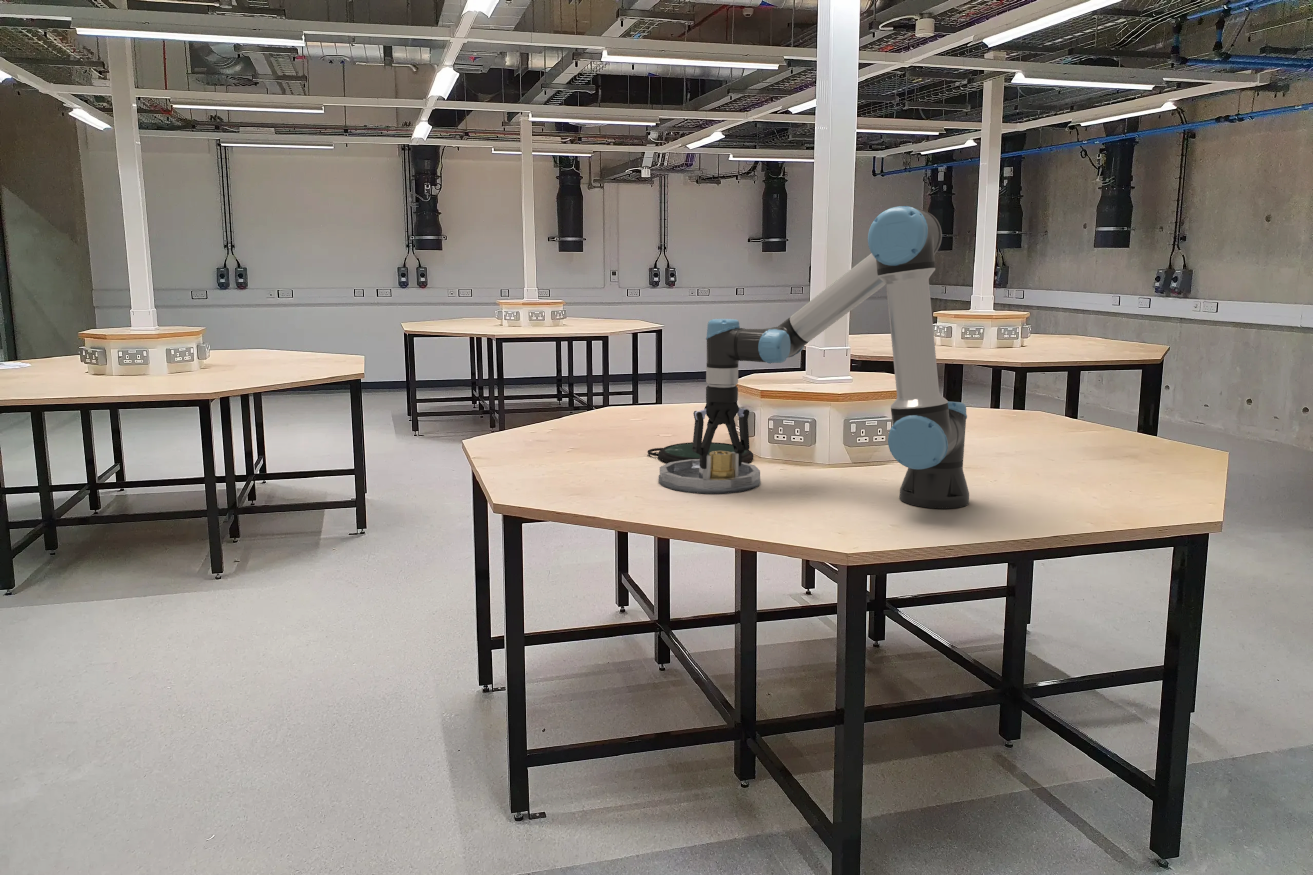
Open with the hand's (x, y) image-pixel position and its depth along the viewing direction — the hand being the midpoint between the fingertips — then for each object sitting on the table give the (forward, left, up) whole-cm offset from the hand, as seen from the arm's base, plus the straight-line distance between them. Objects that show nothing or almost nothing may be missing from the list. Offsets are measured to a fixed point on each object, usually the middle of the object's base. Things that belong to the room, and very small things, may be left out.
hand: (720, 480), depth 221 cm
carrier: (+5, -5, -2) cm, 7 cm away
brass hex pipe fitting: (0, 0, 0) cm, 0 cm away
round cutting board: (+18, -31, -2) cm, 35 cm away
